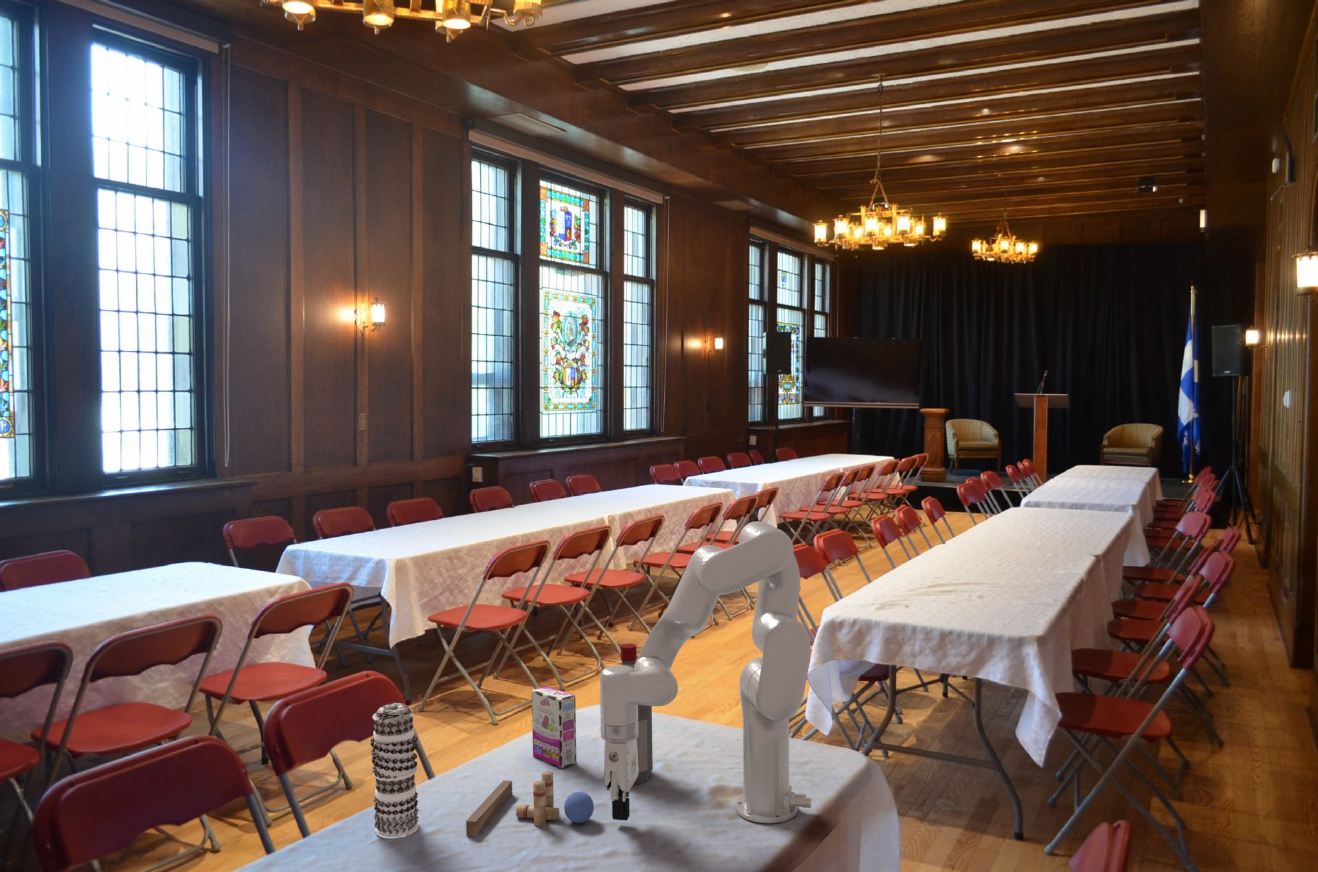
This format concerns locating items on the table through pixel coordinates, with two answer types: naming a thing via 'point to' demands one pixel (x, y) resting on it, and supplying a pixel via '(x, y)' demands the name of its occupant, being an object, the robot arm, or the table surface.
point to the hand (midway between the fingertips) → (620, 817)
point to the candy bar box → (554, 726)
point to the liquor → (640, 723)
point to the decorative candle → (394, 770)
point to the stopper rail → (488, 808)
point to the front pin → (528, 812)
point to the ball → (579, 807)
